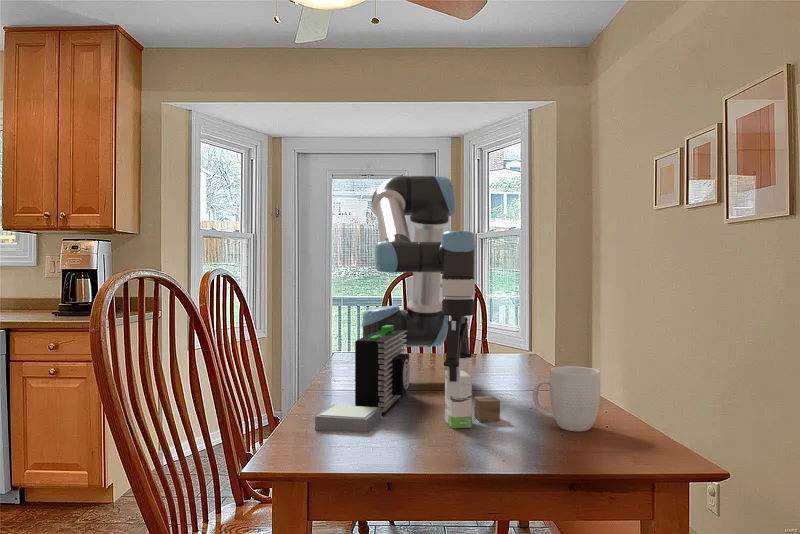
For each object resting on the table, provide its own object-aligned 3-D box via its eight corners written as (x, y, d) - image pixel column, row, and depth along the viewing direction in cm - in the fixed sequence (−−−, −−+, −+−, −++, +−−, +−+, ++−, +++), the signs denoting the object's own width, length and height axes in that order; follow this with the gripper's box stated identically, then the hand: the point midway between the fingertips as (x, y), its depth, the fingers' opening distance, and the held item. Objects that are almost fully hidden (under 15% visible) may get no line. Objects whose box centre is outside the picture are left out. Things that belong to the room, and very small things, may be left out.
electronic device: (396, 417, 157) (396, 334, 157) (352, 415, 160) (352, 333, 159) (416, 394, 185) (416, 323, 185) (379, 392, 187) (379, 323, 187)
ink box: (472, 428, 147) (472, 376, 147) (451, 429, 146) (451, 376, 146) (464, 419, 155) (464, 369, 155) (443, 419, 155) (444, 370, 154)
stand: (333, 417, 157) (333, 404, 157) (381, 420, 154) (381, 406, 154) (315, 429, 145) (315, 415, 145) (366, 433, 142) (366, 418, 142)
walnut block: (474, 417, 157) (474, 396, 157) (494, 417, 158) (494, 396, 158) (479, 422, 152) (479, 401, 152) (500, 422, 153) (500, 400, 153)
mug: (527, 429, 146) (527, 370, 146) (538, 418, 156) (538, 363, 156) (596, 436, 140) (596, 375, 140) (603, 424, 150) (603, 368, 150)
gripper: (450, 296, 163) (451, 381, 163) (431, 300, 139) (431, 400, 139) (480, 296, 162) (481, 382, 161) (466, 300, 137) (467, 401, 137)
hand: (458, 390), depth 150 cm, fingers open, 13 cm apart
